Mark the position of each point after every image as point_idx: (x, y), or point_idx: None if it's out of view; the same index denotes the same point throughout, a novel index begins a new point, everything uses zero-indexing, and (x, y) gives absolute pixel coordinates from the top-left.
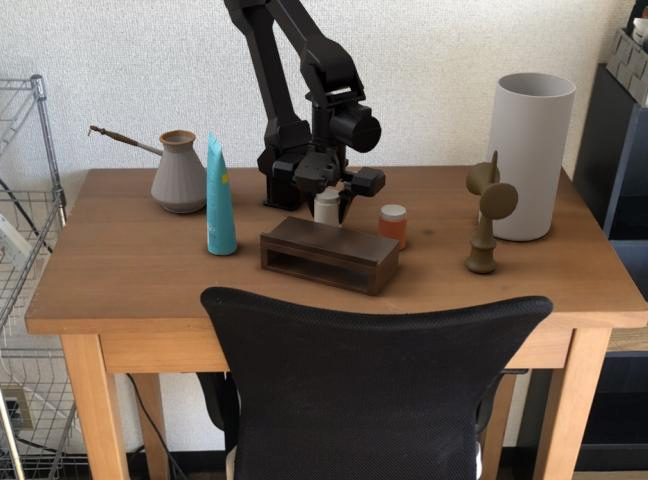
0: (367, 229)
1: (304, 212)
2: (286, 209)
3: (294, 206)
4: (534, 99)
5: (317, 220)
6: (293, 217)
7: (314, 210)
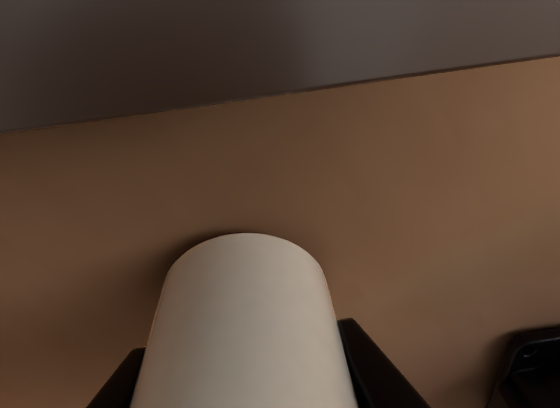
0: (93, 383)
1: (451, 352)
2: (550, 330)
3: (518, 363)
4: None
5: (276, 297)
6: (462, 48)
7: (336, 371)
